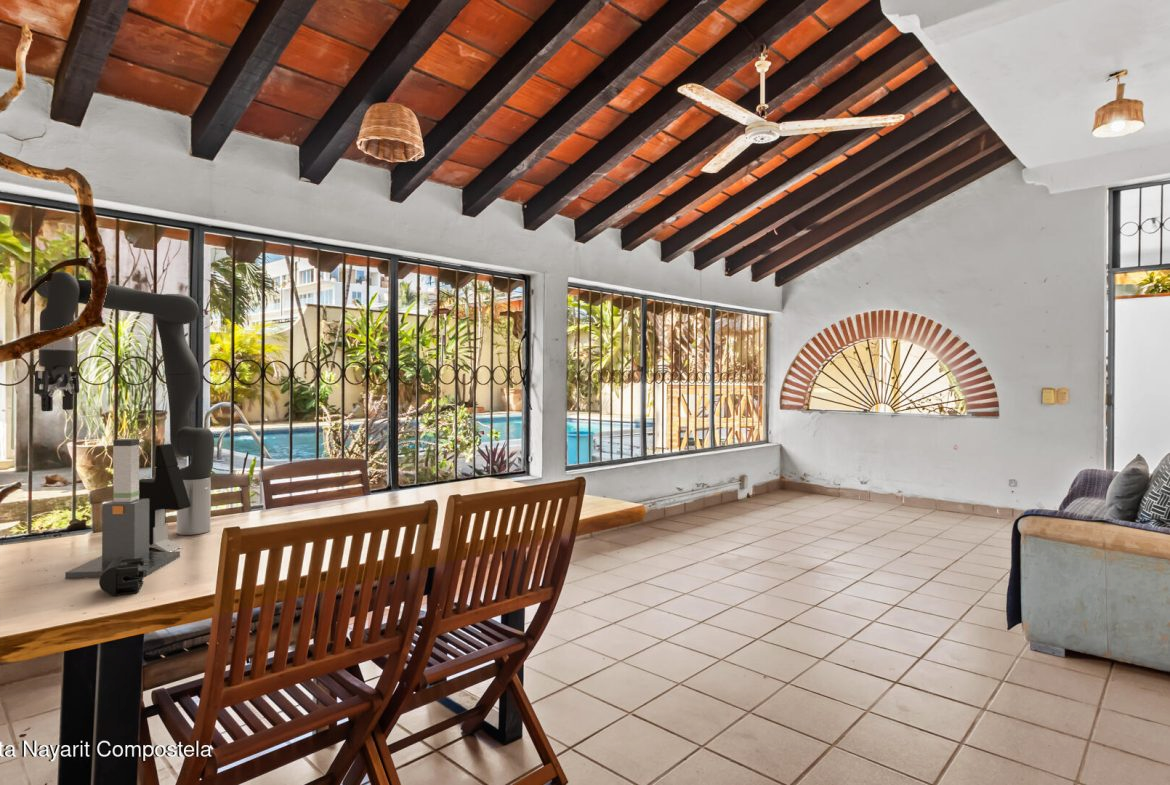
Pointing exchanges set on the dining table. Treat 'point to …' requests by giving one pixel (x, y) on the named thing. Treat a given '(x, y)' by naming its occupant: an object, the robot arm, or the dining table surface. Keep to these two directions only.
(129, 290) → the robot arm
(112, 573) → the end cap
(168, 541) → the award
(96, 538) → the dining table surface
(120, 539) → the stand
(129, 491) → the column
